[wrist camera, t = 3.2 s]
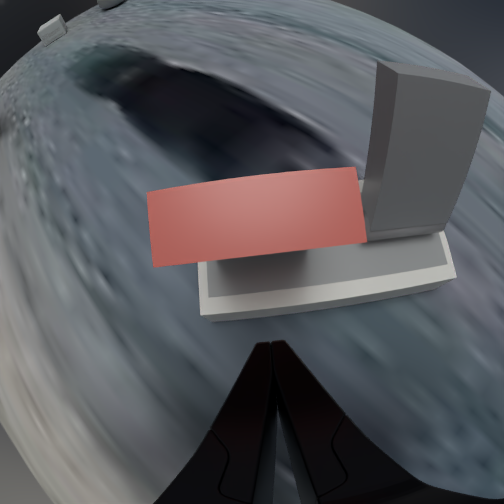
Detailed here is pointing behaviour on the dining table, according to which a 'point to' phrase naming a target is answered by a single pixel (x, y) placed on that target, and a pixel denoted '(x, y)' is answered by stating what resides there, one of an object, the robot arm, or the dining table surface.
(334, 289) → the shallow grey tray
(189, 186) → the upright red slab
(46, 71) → the dining table surface
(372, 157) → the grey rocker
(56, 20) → the small box
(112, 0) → the plastic bottle
